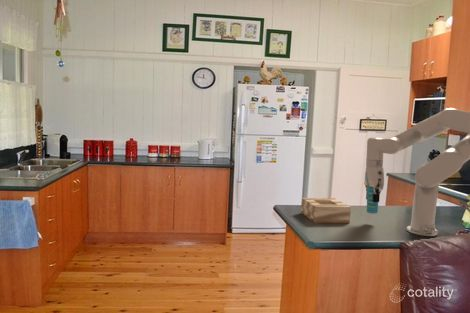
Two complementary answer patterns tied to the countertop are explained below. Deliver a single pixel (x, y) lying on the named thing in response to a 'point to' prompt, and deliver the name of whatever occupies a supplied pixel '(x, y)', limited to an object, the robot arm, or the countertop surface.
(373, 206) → the tube
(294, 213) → the countertop surface
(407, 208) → the countertop surface
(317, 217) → the socket block
